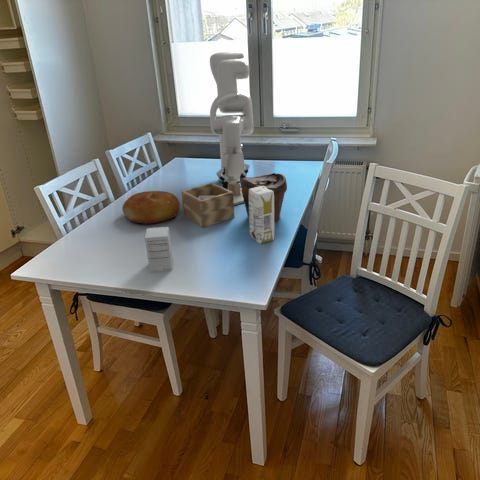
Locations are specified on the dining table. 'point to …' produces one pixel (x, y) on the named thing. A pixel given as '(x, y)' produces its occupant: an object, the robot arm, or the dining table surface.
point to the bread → (151, 207)
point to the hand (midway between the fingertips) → (234, 186)
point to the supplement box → (159, 249)
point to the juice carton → (261, 214)
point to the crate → (208, 204)
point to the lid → (236, 192)
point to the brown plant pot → (270, 182)
